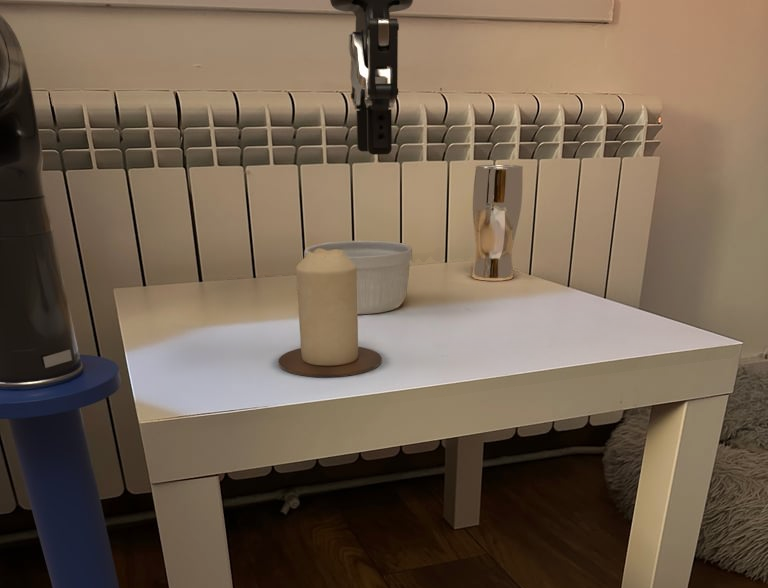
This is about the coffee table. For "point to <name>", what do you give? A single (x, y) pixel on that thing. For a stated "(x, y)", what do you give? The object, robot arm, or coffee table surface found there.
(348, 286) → the candle
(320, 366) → the coaster
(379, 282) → the ramekin
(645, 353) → the coffee table surface
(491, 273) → the beer glass
